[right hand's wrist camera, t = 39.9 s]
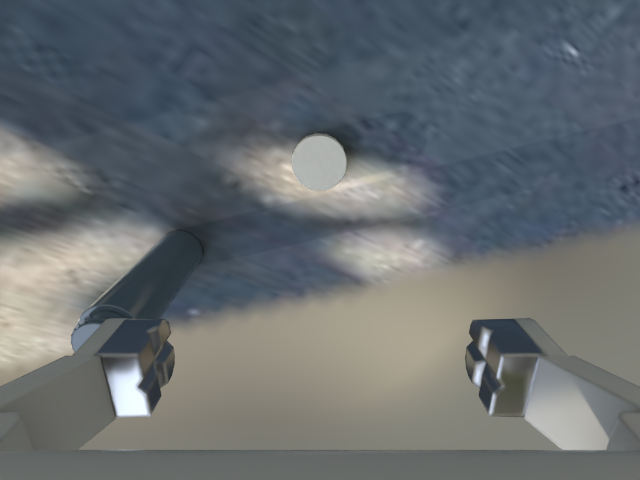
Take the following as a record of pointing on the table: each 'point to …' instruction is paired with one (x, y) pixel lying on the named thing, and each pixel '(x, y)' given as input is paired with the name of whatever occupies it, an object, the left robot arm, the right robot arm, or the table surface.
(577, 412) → the right robot arm
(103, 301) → the grey cylinder
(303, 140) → the lid
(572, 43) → the table surface
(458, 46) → the table surface
